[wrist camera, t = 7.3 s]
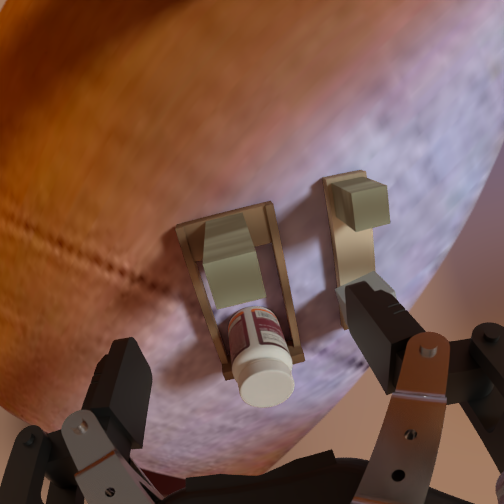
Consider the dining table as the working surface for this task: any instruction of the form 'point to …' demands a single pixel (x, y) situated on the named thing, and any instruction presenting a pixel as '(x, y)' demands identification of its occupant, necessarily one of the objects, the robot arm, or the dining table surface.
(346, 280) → the birch slat
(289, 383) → the pill bottle
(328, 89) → the dining table surface
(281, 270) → the open wooden frame
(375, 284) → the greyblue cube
